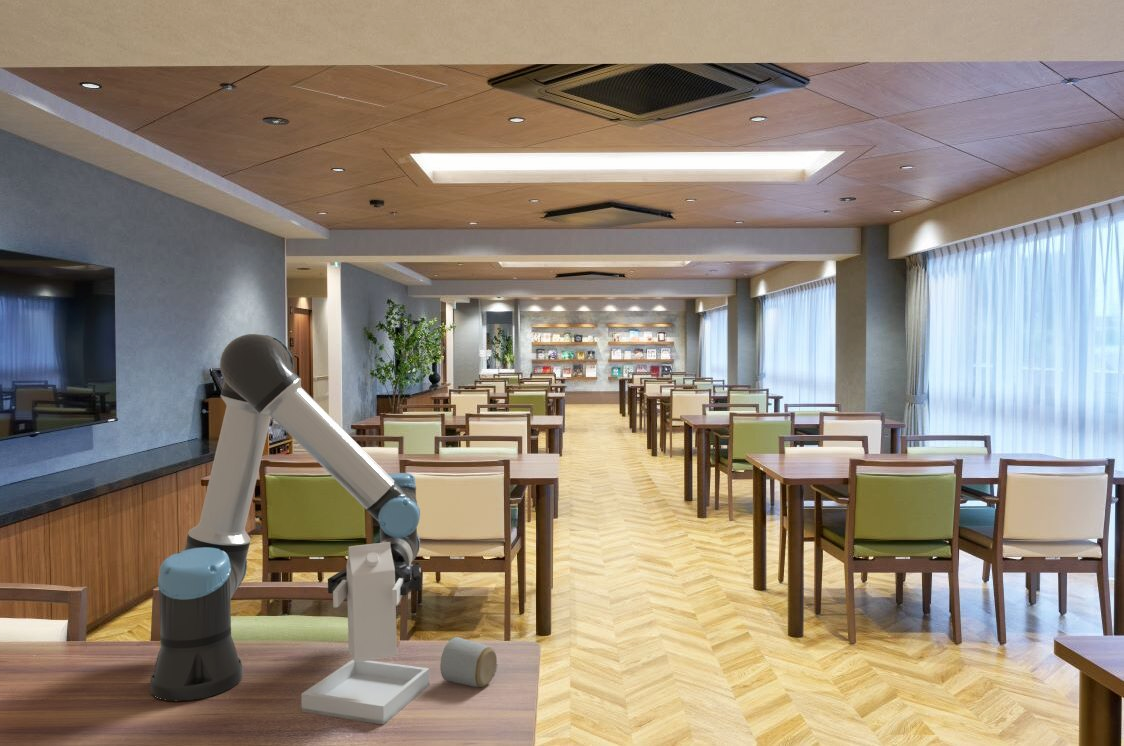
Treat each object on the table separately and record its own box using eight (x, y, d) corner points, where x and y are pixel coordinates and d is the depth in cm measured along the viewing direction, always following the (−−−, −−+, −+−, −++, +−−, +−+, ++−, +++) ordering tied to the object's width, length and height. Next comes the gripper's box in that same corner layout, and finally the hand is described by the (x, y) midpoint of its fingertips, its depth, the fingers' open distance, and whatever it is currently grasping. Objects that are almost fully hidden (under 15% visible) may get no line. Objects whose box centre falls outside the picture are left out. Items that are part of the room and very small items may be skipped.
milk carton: (348, 649, 137) (345, 542, 136) (389, 642, 140) (386, 537, 139) (354, 664, 130) (351, 551, 130) (397, 656, 133) (394, 546, 133)
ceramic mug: (478, 695, 136) (478, 651, 136) (439, 687, 139) (439, 644, 139) (508, 673, 145) (508, 632, 145) (470, 666, 149) (470, 626, 149)
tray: (301, 711, 130) (301, 693, 130) (354, 674, 145) (354, 658, 145) (383, 724, 125) (383, 706, 125) (429, 684, 140) (429, 668, 140)
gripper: (446, 579, 153) (431, 618, 131) (334, 582, 152) (299, 622, 130) (445, 541, 153) (430, 574, 130) (333, 544, 152) (298, 578, 130)
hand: (365, 598), depth 130 cm, fingers closed on milk carton, 9 cm apart
